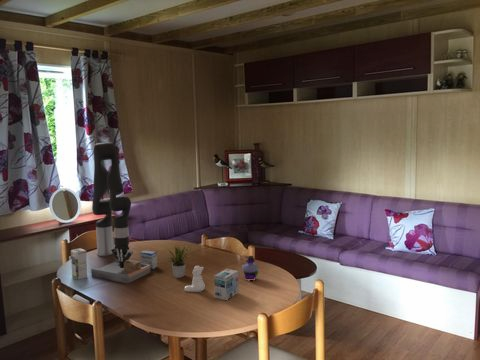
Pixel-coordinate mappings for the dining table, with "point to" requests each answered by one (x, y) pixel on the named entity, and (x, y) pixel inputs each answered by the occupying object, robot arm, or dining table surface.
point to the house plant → (178, 262)
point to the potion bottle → (250, 268)
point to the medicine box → (149, 258)
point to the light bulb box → (226, 284)
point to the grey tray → (120, 272)
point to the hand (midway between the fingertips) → (122, 267)
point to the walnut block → (131, 266)
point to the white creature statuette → (196, 281)
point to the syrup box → (79, 264)
